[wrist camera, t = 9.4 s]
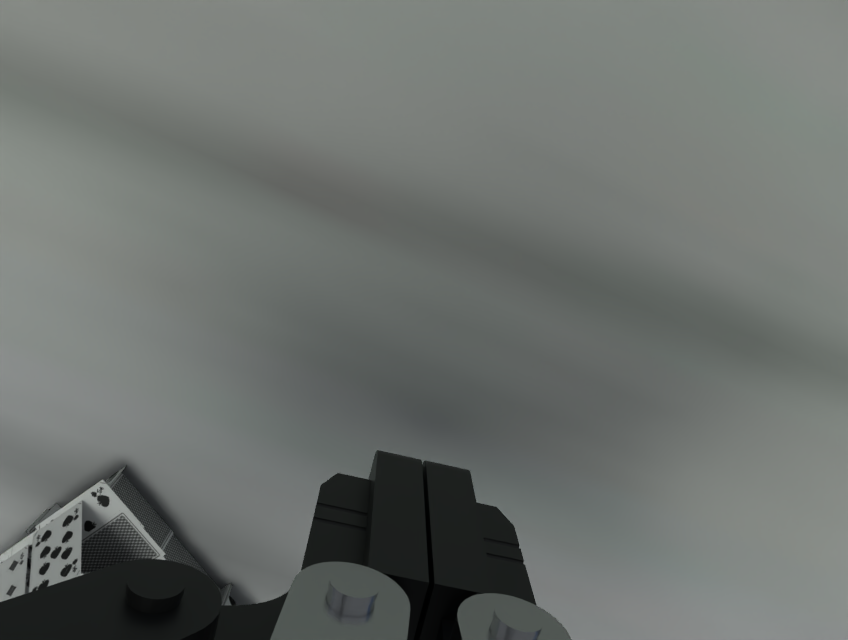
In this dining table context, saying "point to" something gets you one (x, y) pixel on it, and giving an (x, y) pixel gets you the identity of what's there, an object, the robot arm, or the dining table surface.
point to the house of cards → (91, 540)
